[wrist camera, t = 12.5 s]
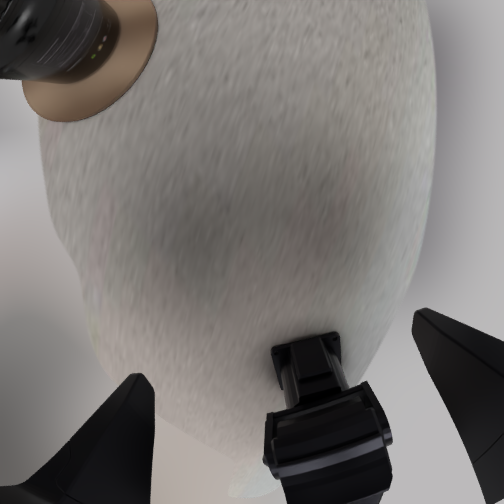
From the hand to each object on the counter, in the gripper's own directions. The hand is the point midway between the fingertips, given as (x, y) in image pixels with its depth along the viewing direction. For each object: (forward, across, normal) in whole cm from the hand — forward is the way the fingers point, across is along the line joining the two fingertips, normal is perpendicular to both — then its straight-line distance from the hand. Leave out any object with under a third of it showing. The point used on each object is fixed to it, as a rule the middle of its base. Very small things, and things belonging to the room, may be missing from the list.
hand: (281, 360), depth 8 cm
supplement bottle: (+12, +9, -17) cm, 23 cm away
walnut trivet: (+13, +9, -17) cm, 23 cm away
